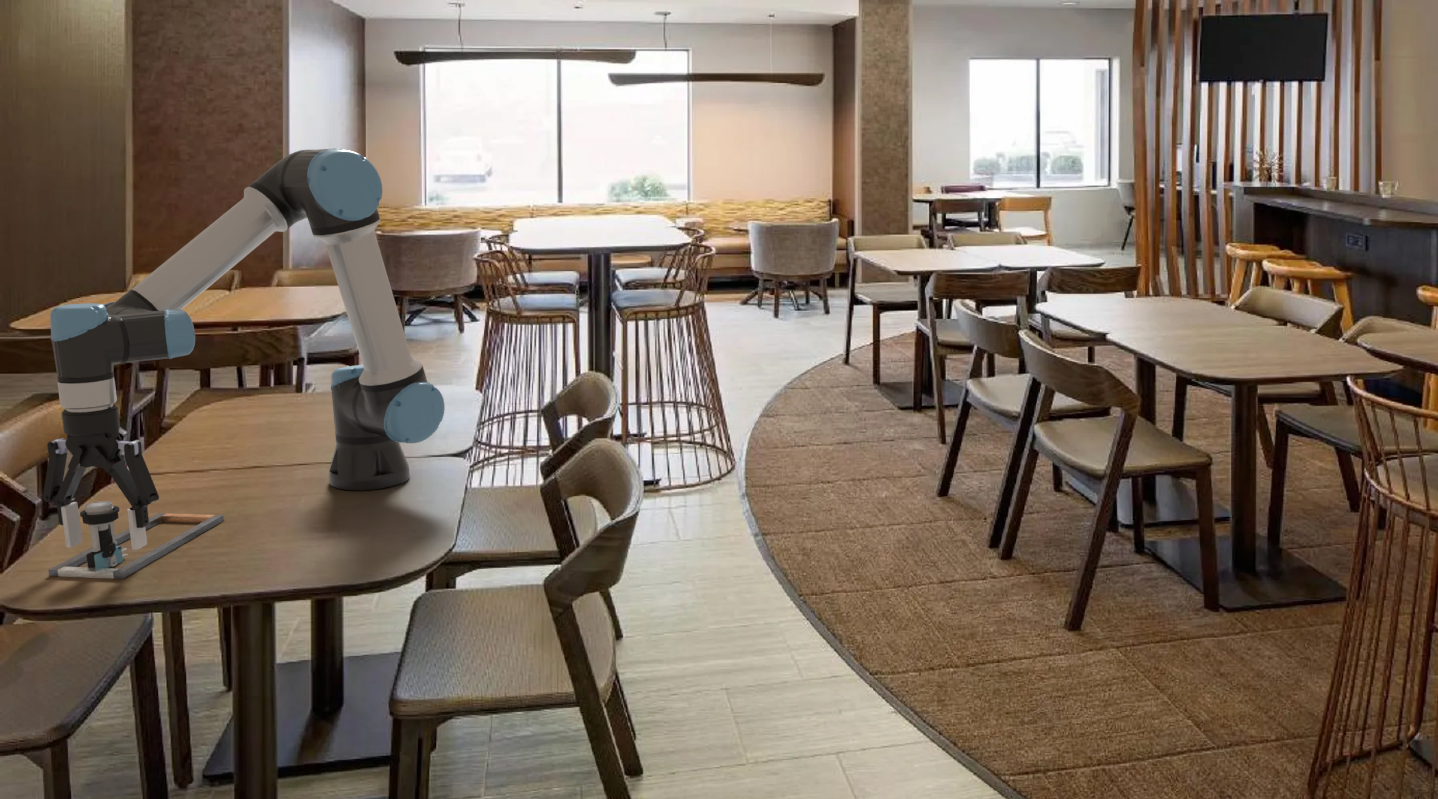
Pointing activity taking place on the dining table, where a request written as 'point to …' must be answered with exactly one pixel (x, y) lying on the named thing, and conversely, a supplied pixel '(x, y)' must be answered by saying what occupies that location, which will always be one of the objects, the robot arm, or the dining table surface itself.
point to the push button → (102, 534)
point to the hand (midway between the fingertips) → (106, 545)
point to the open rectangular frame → (71, 569)
